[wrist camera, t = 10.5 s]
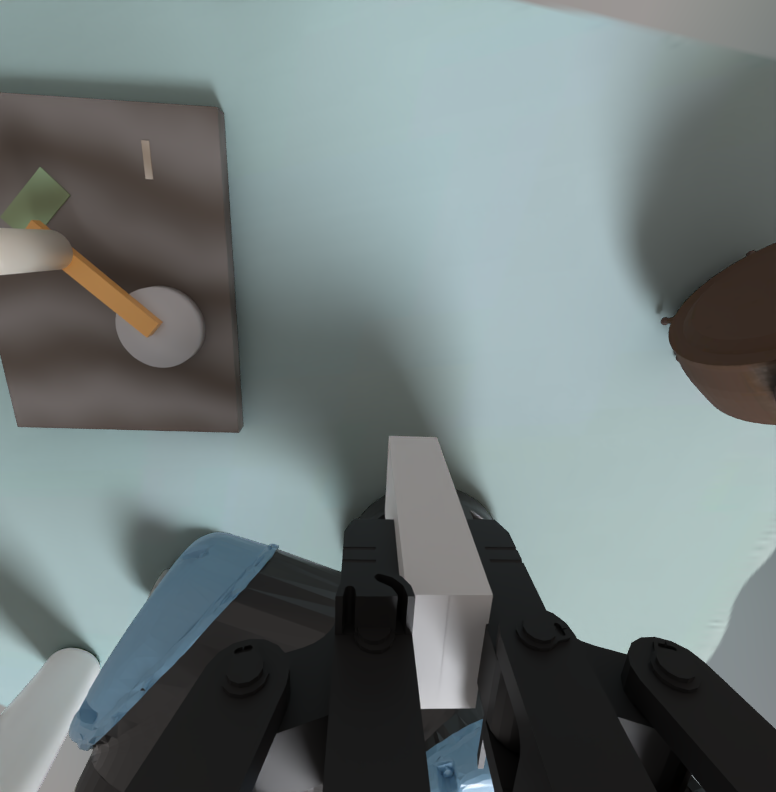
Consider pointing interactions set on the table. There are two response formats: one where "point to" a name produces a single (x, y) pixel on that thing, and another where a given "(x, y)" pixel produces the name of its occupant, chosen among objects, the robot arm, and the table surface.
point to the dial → (112, 296)
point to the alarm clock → (732, 338)
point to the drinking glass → (43, 718)
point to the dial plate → (117, 261)
